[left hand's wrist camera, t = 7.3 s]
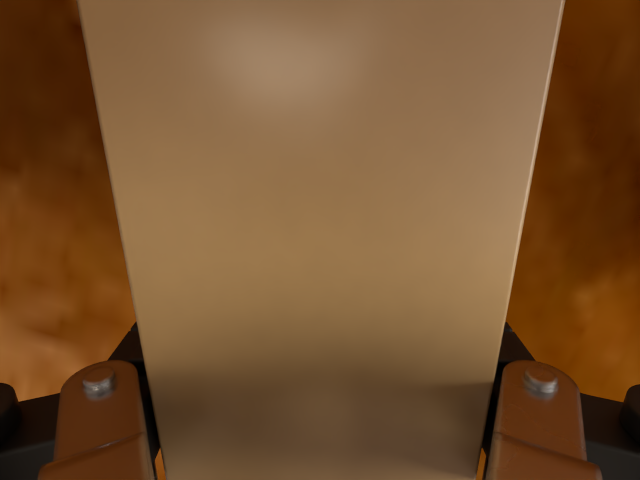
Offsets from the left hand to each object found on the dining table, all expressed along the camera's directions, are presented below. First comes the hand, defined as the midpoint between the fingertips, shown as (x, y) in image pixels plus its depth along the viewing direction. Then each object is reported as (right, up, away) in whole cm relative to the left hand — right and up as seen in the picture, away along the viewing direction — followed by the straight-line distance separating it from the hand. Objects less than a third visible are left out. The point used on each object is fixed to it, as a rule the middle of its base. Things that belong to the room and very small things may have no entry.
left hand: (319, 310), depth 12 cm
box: (0, +9, +3) cm, 9 cm away
